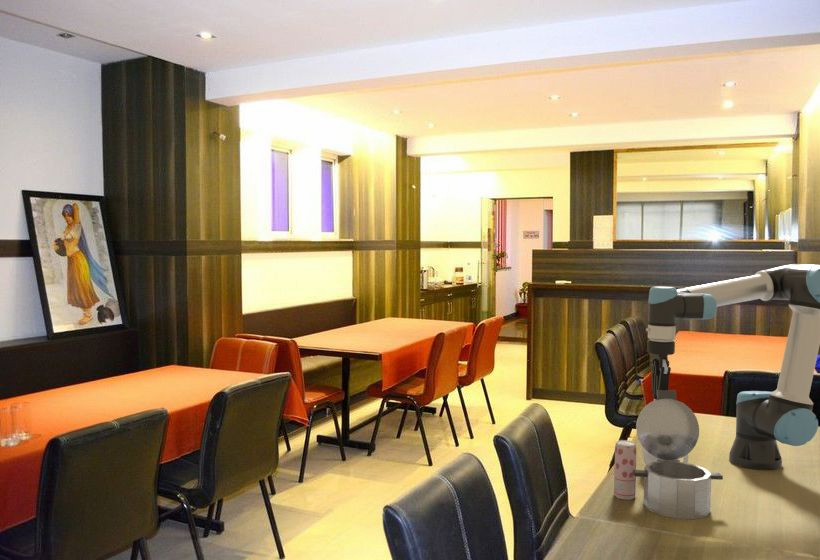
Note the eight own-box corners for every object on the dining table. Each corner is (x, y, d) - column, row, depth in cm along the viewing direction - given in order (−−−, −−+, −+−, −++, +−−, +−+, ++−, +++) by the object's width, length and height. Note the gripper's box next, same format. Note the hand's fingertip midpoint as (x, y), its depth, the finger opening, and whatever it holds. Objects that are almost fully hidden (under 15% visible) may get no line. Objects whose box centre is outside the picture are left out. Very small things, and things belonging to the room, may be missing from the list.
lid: (700, 464, 192) (697, 462, 195) (698, 391, 194) (695, 390, 197) (637, 462, 194) (635, 460, 196) (636, 389, 196) (634, 389, 199)
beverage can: (609, 494, 195) (610, 441, 194) (625, 491, 197) (626, 439, 196) (623, 501, 190) (624, 446, 189) (639, 498, 192) (641, 444, 191)
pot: (710, 498, 192) (711, 462, 192) (731, 521, 176) (732, 482, 176) (626, 494, 194) (627, 459, 194) (640, 517, 178) (641, 478, 178)
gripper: (642, 336, 209) (640, 414, 210) (653, 342, 196) (650, 425, 197) (668, 337, 208) (665, 415, 209) (681, 343, 195) (678, 426, 196)
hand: (658, 420), depth 203 cm, fingers closed
